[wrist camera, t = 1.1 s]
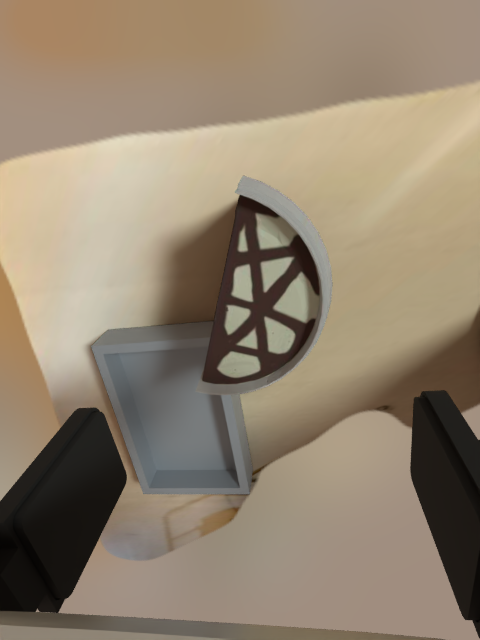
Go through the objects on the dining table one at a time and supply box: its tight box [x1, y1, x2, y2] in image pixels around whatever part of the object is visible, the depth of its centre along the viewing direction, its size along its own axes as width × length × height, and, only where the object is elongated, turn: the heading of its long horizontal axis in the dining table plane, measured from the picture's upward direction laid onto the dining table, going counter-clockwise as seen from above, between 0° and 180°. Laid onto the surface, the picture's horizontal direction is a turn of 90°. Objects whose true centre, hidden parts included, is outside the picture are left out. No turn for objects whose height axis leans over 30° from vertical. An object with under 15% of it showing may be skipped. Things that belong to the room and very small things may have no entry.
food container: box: [195, 176, 332, 395], centre depth 23 cm, size 12×6×10 cm, turn 168°
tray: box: [91, 321, 253, 494], centre depth 33 cm, size 11×17×3 cm, turn 9°
